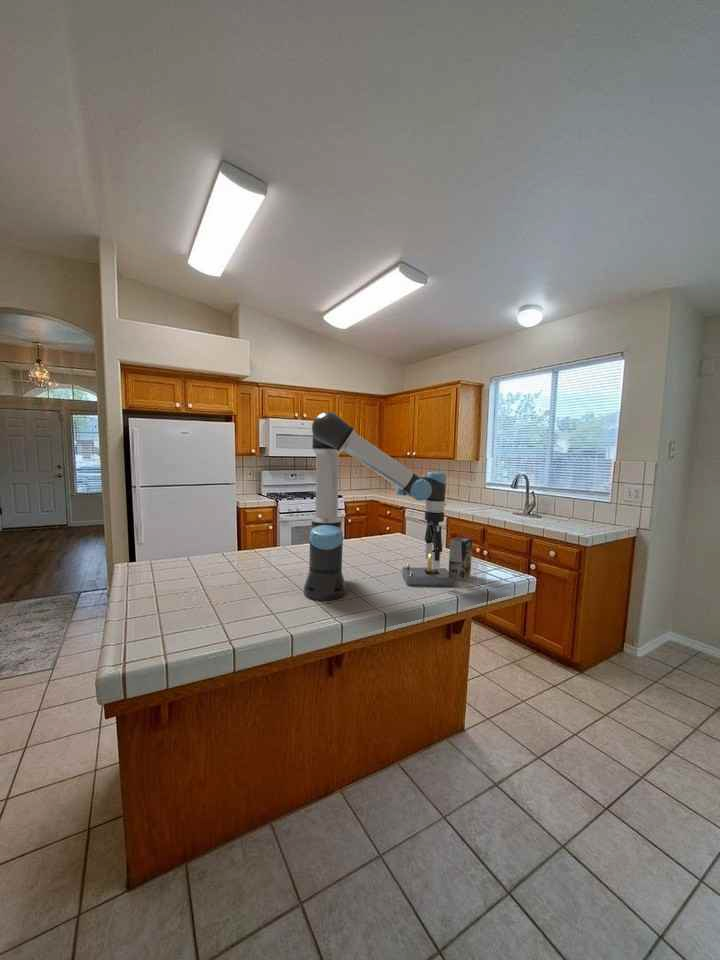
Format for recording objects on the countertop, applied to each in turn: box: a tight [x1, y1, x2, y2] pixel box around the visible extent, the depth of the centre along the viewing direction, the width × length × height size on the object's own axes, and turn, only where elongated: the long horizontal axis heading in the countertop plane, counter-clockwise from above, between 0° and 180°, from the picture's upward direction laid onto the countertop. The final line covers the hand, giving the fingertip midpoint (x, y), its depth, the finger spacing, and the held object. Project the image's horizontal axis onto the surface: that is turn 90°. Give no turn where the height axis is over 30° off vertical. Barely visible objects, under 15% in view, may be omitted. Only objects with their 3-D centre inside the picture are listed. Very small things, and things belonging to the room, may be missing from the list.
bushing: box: [426, 552, 437, 574], centre depth 155 cm, size 4×4×11 cm
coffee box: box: [448, 536, 473, 582], centre depth 161 cm, size 9×6×16 cm
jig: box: [401, 563, 454, 587], centre depth 155 cm, size 18×12×5 cm, turn 92°
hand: (431, 563), depth 155 cm, fingers open, 13 cm apart
